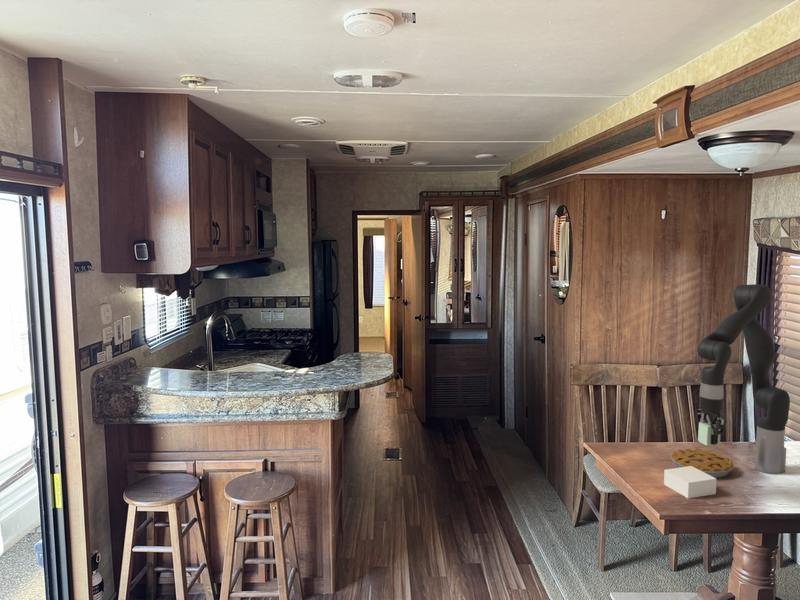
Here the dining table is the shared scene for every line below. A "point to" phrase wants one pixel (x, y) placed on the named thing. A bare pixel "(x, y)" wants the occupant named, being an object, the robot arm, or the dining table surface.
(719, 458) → the pie
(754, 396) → the robot arm
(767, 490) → the dining table surface
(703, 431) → the sage block
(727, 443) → the dining table surface
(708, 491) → the base box
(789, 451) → the dining table surface
